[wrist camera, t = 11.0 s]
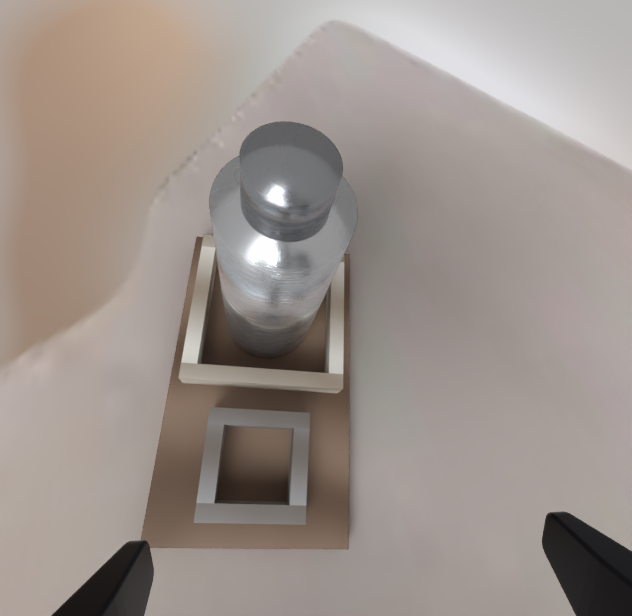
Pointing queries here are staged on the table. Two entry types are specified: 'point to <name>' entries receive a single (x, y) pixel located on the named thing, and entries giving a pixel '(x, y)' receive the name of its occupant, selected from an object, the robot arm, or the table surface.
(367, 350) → the table surface
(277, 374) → the socket board
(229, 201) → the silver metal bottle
